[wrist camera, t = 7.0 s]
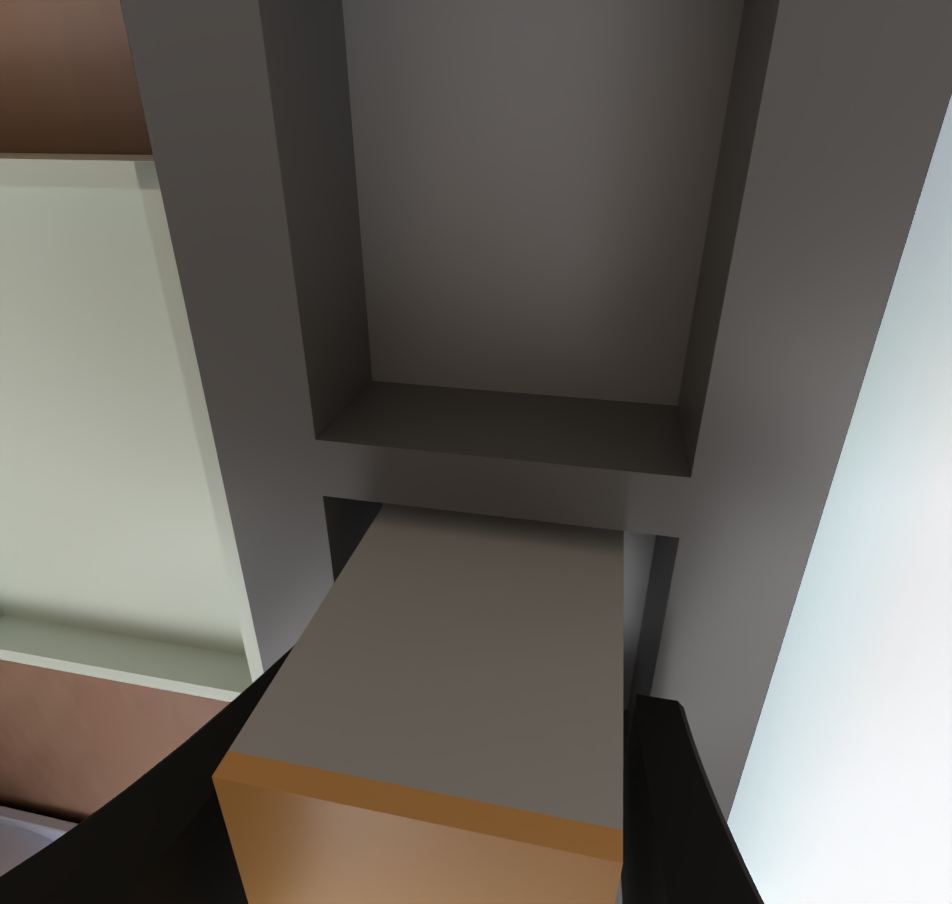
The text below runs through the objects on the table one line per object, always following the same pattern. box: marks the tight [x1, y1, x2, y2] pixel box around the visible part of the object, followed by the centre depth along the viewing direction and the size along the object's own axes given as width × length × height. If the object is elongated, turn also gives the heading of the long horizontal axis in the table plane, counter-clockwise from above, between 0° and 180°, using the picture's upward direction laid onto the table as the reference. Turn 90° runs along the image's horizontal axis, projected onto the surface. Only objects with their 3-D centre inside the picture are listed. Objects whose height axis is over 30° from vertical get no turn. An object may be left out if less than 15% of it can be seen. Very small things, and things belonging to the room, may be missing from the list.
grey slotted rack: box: [120, 0, 952, 904], centre depth 12 cm, size 9×24×3 cm, turn 0°
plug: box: [212, 503, 624, 904], centre depth 10 cm, size 4×5×7 cm
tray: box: [0, 153, 264, 702], centre depth 14 cm, size 9×12×2 cm
